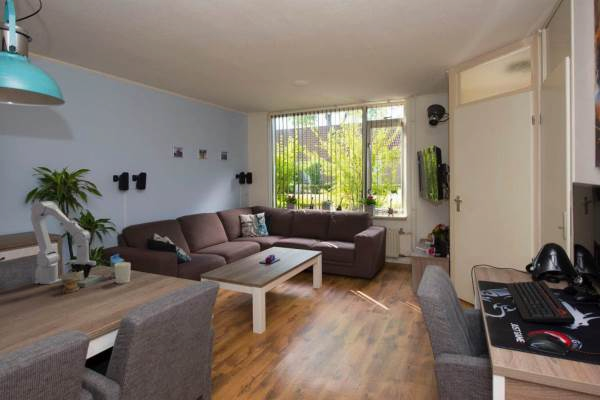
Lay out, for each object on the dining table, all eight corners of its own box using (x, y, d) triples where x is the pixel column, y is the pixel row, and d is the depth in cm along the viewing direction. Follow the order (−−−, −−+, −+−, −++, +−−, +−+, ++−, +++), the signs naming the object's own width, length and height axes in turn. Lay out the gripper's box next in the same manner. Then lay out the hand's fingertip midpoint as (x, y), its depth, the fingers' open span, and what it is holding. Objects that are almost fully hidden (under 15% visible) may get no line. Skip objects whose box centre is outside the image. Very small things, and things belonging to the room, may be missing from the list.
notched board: (61, 285, 182) (61, 281, 182) (81, 277, 196) (81, 274, 196) (85, 287, 181) (85, 283, 180) (104, 279, 194) (103, 275, 194)
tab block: (76, 284, 185) (75, 273, 185) (83, 281, 190) (83, 270, 190) (81, 284, 185) (81, 273, 185) (88, 281, 190) (87, 270, 189)
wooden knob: (59, 292, 172) (58, 280, 172) (70, 287, 179) (70, 276, 179) (71, 293, 171) (71, 281, 171) (82, 288, 178) (82, 277, 178)
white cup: (126, 284, 187) (125, 266, 186) (111, 283, 187) (111, 265, 186) (133, 279, 195) (133, 262, 194) (119, 279, 195) (119, 262, 194)
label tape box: (117, 277, 198) (117, 256, 197) (110, 277, 198) (110, 256, 197) (125, 273, 206) (125, 253, 205) (118, 273, 206) (118, 253, 206)
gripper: (64, 254, 184) (65, 278, 185) (89, 255, 182) (89, 280, 183) (75, 251, 191) (75, 275, 192) (98, 252, 189) (99, 276, 190)
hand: (83, 277), depth 188 cm, fingers closed on tab block, 3 cm apart
